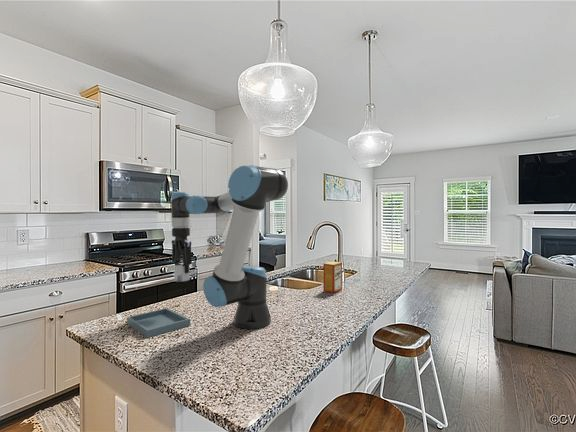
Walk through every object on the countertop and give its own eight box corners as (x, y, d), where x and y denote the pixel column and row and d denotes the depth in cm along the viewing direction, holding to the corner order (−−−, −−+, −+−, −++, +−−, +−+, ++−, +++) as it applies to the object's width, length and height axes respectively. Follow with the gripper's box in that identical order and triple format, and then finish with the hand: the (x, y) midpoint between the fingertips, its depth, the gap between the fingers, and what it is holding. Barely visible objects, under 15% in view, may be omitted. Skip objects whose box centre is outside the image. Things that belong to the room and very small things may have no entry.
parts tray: (190, 325, 130) (190, 319, 130) (147, 337, 118) (147, 330, 118) (166, 313, 145) (166, 307, 145) (126, 323, 133) (126, 317, 133)
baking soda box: (332, 287, 189) (332, 260, 189) (342, 289, 185) (342, 261, 185) (323, 291, 182) (323, 263, 181) (333, 293, 178) (333, 264, 177)
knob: (192, 279, 144) (191, 263, 144) (178, 282, 139) (178, 265, 139) (185, 277, 148) (184, 262, 148) (171, 280, 144) (171, 264, 144)
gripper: (199, 227, 139) (200, 280, 140) (178, 226, 153) (179, 275, 153) (183, 228, 134) (184, 283, 134) (163, 227, 147) (164, 277, 148)
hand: (182, 279), depth 144 cm, fingers closed on knob, 6 cm apart
